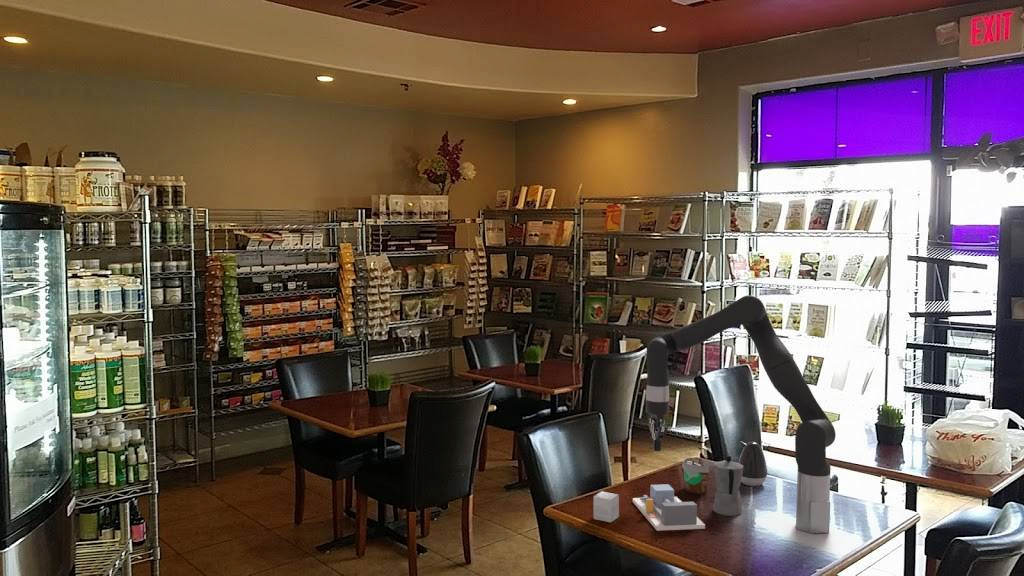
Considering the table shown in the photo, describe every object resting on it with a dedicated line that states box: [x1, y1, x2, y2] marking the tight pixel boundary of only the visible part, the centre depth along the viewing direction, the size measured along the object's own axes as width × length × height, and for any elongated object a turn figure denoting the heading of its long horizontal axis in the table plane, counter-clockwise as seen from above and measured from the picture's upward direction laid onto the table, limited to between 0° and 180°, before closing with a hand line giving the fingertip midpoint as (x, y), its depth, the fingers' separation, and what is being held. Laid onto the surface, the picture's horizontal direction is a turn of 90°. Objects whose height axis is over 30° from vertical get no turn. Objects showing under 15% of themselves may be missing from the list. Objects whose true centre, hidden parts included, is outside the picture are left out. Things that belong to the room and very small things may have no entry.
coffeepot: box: [712, 455, 744, 517], centre depth 252 cm, size 15×9×18 cm, turn 171°
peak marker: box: [646, 499, 653, 512], centre depth 248 cm, size 1×2×4 cm, turn 97°
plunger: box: [639, 483, 675, 508], centre depth 253 cm, size 11×10×6 cm
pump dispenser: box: [738, 441, 768, 487], centre depth 282 cm, size 10×10×15 cm
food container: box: [681, 456, 710, 495], centre depth 274 cm, size 12×6×10 cm, turn 17°
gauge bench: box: [632, 494, 706, 532], centre depth 250 cm, size 26×15×7 cm, turn 7°
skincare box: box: [593, 490, 620, 523], centre depth 247 cm, size 6×6×7 cm
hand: (656, 450), depth 262 cm, fingers closed
